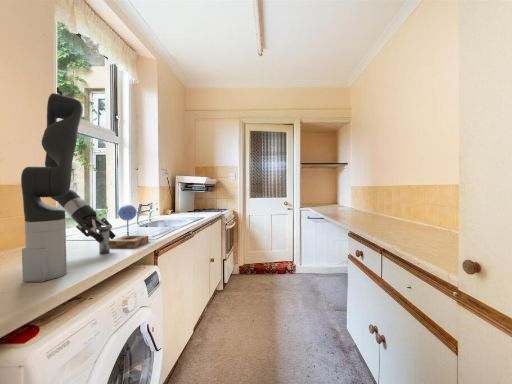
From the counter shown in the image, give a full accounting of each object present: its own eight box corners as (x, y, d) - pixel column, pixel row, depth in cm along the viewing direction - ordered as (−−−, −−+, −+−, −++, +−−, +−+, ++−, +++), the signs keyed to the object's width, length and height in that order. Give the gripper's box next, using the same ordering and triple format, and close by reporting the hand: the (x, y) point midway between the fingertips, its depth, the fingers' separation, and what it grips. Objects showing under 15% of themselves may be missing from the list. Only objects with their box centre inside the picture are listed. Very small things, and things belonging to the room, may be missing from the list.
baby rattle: (119, 237, 128) (118, 204, 128) (137, 236, 132) (136, 203, 131) (117, 241, 120) (117, 205, 120) (136, 239, 124) (136, 204, 123)
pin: (106, 254, 96) (105, 227, 96) (94, 254, 96) (94, 227, 96) (114, 251, 101) (113, 225, 100) (103, 251, 101) (102, 225, 101)
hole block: (134, 247, 106) (134, 241, 106) (108, 247, 107) (108, 241, 107) (148, 241, 118) (148, 235, 118) (125, 241, 119) (125, 235, 119)
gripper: (71, 206, 91) (101, 236, 91) (99, 203, 106) (125, 230, 105) (59, 219, 92) (88, 250, 91) (88, 215, 106) (113, 241, 106)
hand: (108, 239), depth 98 cm, fingers open, 6 cm apart
